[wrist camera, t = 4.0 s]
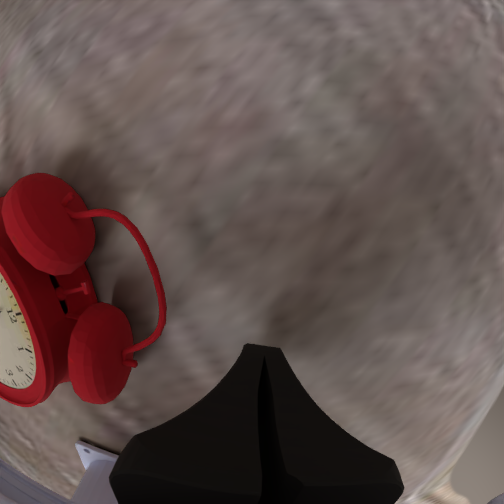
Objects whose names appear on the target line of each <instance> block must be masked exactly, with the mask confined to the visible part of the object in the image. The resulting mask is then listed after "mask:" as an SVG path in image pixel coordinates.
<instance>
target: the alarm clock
mask: <svg viewBox="0 0 504 504" xmlns="http://www.w3.org/2000/svg"><path fill="white" fill-rule="evenodd" d="M96 216H106V217H110V218H114V219H115V220H117V221H119V222H120V223H122V224H123V225H124V226H125V227H126V228H127V229H128V230H129V231H130V232H131V234H132V235H133V237H134V238H135V239H136V241H137V242H138V244H139V246H140V248H141V250H142V252H143V254H144V256H145V259H146V261H147V264H148V267H149V269H150V272H151V274H152V277H153V280H154V284H155V288H156V292H157V296H158V302H159V320H158V325H157V327H156V329H155V331H154V332H153V333H152V334H151V335H150V337H148V338H147V339H145V340H143V341H142V342H140V343H137V344H135V345H133V334H132V331H131V327H130V323H129V321H128V319H127V317H126V315H125V314H124V313H123V312H122V311H121V310H120V309H119V308H117V307H115V306H113V305H110V304H107V303H103V302H99V303H98V302H97V297H96V294H95V291H94V288H93V284H92V281H91V278H90V275H89V273H88V270H87V268H86V266H85V264H84V262H85V261H86V260H87V258H88V257H89V255H90V254H91V253H92V250H93V247H94V243H95V227H94V224H93V220H92V218H91V217H96ZM60 304H61V305H62V306H61V305H60ZM62 308H63V310H62ZM166 310H167V307H166V300H165V293H164V289H163V285H162V282H161V278H160V275H159V271H158V268H157V265H156V263H155V261H154V259H153V256H152V254H151V252H150V249H149V247H148V245H147V243H146V241H145V240H144V238H143V236H142V235H141V233H140V232H139V230H138V228H137V227H136V226H135V225H134V224H133V223H132V222H131V221H130V220H129V219H128V218H127V217H126V216H124V215H122V214H121V213H119V212H117V211H114V210H109V209H92V210H88V209H87V207H86V205H85V204H84V202H83V200H82V198H81V197H80V196H79V195H78V194H77V193H76V191H75V190H74V189H73V188H72V187H71V186H70V185H68V184H67V183H66V182H64V181H63V180H62V179H60V178H58V177H55V176H53V175H50V174H46V173H35V174H31V175H27V176H25V177H23V178H21V179H19V180H18V181H17V182H16V183H15V184H14V185H13V186H12V187H11V188H10V189H9V191H8V192H7V194H6V195H5V196H4V197H0V397H1V398H2V399H4V400H6V401H8V402H9V403H12V404H14V405H17V406H22V407H31V406H35V405H37V404H38V403H41V402H43V401H45V400H46V399H47V398H48V397H49V396H50V394H51V393H52V391H53V390H54V388H55V387H56V386H57V385H58V384H60V383H63V382H68V381H71V382H72V385H73V388H74V391H75V393H76V394H77V395H78V396H79V397H80V398H81V399H82V400H83V401H86V402H90V403H94V404H106V403H108V402H110V401H112V400H114V399H115V398H116V397H117V396H118V395H119V394H120V392H121V391H122V389H123V388H124V387H125V385H126V382H127V380H128V377H129V374H130V372H131V368H132V367H134V368H136V367H137V366H138V362H137V361H136V360H133V353H134V351H138V350H141V349H142V348H144V347H146V346H148V345H150V344H151V343H153V342H154V341H155V340H156V339H157V338H158V337H159V336H160V335H161V333H162V331H163V329H164V326H165V324H166Z"/></svg>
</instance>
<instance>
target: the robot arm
mask: <svg viewBox="0 0 504 504" xmlns="http://www.w3.org/2000/svg"><path fill="white" fill-rule="evenodd" d="M75 446H76V448H77V451H78V453H79V456H80V458H81V460H82V462H83V465H84V467H85V469H86V472H85V474H84V476H83V477H82V479H81V481H80V483H79V485H78V487H77V489H76V491H75V492H74V494H73V496H72V498H71V500H69V499H67V498H65V497H63V496H61V495H59V494H57V493H55V492H53V491H52V490H50V489H48V488H46V487H44V486H43V485H41V484H39V483H37V482H36V481H34V480H32V479H31V478H29V477H27V476H26V475H24V474H23V473H21V472H20V471H18V470H16V469H15V468H13V467H12V466H11V465H9V464H8V463H6V462H5V461H3V460H2V459H1V458H0V504H394V503H395V502H396V501H397V500H398V499H399V497H400V496H401V495H402V493H403V490H404V485H403V482H402V479H401V476H400V473H399V470H398V468H397V466H396V464H395V461H394V460H393V459H391V458H389V457H387V456H385V455H383V454H381V453H379V452H377V451H375V450H373V449H371V448H370V447H368V446H366V445H365V444H363V443H362V442H360V441H359V440H357V439H356V438H354V437H353V436H351V435H350V434H349V433H347V432H346V431H345V430H343V429H342V428H341V427H340V426H339V425H337V424H336V423H335V422H334V421H333V420H332V419H330V418H329V417H328V416H327V415H326V414H325V413H324V412H323V411H322V410H321V409H320V407H319V406H318V405H317V404H316V403H315V402H314V401H313V400H312V398H311V397H310V396H309V394H308V393H307V392H306V390H305V389H304V388H303V386H302V385H301V383H300V382H299V380H298V379H297V377H296V375H295V374H294V372H293V371H292V369H291V367H290V365H289V364H288V362H287V360H286V358H285V356H284V354H283V352H282V350H281V349H280V348H276V347H269V346H262V345H255V344H249V343H247V344H245V345H244V347H243V350H242V352H241V354H240V356H239V357H238V359H237V361H236V362H235V364H234V365H233V366H232V368H231V369H230V371H229V372H228V373H227V374H226V376H225V377H224V378H223V379H222V380H221V381H220V382H219V383H218V385H217V386H216V387H215V388H214V389H213V390H211V391H210V392H209V393H208V394H207V395H206V396H205V397H204V398H202V399H201V400H200V401H199V402H197V403H196V404H195V405H193V406H192V407H191V408H189V409H188V410H186V411H185V412H183V413H181V414H180V415H178V416H176V417H174V418H173V419H171V420H169V421H167V422H165V423H164V424H161V425H159V426H157V427H155V428H152V429H150V430H147V431H145V432H142V433H140V434H137V435H135V436H134V437H133V438H132V439H131V440H130V442H129V443H128V444H127V445H126V447H125V448H124V449H123V451H122V452H121V454H120V455H116V454H113V453H110V452H108V451H105V450H102V449H100V448H97V447H95V446H92V445H90V444H87V443H85V442H83V441H77V442H76V443H75ZM487 504H504V493H502V494H500V495H499V496H497V497H495V498H494V499H492V500H491V501H490V502H488V503H487Z"/></svg>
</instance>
